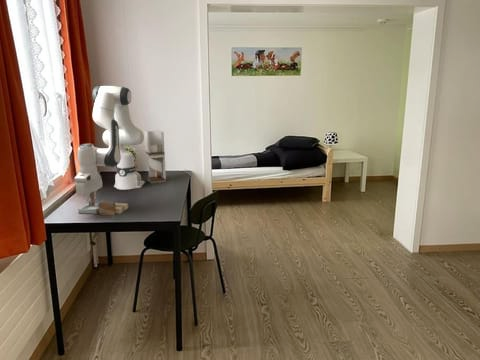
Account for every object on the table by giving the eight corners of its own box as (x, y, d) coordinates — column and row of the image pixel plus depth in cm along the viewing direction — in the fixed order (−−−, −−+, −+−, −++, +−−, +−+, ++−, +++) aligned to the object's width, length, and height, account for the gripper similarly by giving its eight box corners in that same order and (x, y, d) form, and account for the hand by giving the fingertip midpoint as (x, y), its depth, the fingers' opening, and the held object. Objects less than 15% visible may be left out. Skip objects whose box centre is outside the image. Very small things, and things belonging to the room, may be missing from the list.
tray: (88, 207, 208) (88, 203, 207) (105, 208, 206) (105, 204, 206) (78, 213, 198) (78, 209, 197) (96, 214, 196) (95, 209, 196)
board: (108, 207, 209) (107, 202, 208) (128, 208, 207) (127, 203, 206) (98, 213, 199) (98, 208, 198) (120, 214, 197) (119, 209, 197)
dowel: (90, 204, 203) (89, 190, 201) (96, 204, 203) (94, 190, 201) (87, 206, 200) (86, 191, 198) (93, 206, 200) (91, 191, 198)
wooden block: (102, 212, 199) (101, 202, 197) (116, 213, 197) (115, 202, 196) (99, 214, 196) (98, 203, 194) (113, 215, 195) (112, 204, 193)
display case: (147, 179, 271) (144, 131, 262) (162, 178, 275) (159, 130, 267) (151, 183, 261) (147, 133, 252) (166, 181, 265) (163, 132, 257)
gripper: (93, 170, 208) (95, 194, 211) (72, 179, 188) (75, 205, 191) (104, 170, 207) (106, 194, 210) (83, 179, 187) (86, 205, 190)
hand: (91, 199), depth 201 cm, fingers closed on dowel, 3 cm apart
